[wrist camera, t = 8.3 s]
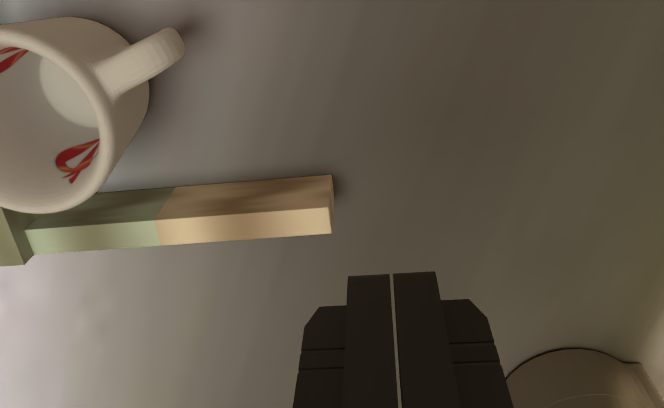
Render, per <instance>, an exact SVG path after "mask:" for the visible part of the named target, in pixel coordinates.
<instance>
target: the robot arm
mask: <svg viewBox="0 0 664 408" xmlns="http://www.w3.org/2000/svg"><path fill="white" fill-rule="evenodd" d="M393 281H394V297H395V313H396V329H397V344H398V360H399V374H400V388H401V401H402V408H664V401H663V399H662V398H661V396H660V394H659V393H658V391H657V389H656V388H655V386H654V385H653V383H652V381H651V380H650V378H649V376H648V375H647V373H646V372H645V370H644V368H643V367H642V365H641V364H625V363H622V362H620V361H618V360H616V359H614V358H613V357H611V356H609V355H606V354H603V353H600V352H597V351H592V350H584V349H568V350H560V351H555V352H550V353H547V354H544V355H541V356H539V357H536V358H534V359H532V360H530V361H528V362H527V363H525V364H523V365H521V366H520V367H519V368H518V369H517V370H515V371H514V372H513V373H512V374H511V375H510V376H509V377H508V378H507V380H506V379H505V376H504V373H503V369H502V366H501V365H500V359H499V356H498V353H497V349H496V346H495V345H494V339H493V336H492V333H491V329H490V326H489V323H488V319H487V317H486V316H485V315H484V314H483V313H482V312H481V311H480V310H479V309H478V308H477V307H476V306H475V305H474V304H473V303H472V302H471V301H470V300H469V299H461V300H441V299H440V294H439V289H438V284H437V278H436V274H435V271H434V272H415V273H397V274H393ZM293 408H398V397H397V382H396V367H395V352H394V337H393V321H392V306H391V291H390V276H389V274H382V275H364V276H348V286H347V305H345V306H325V307H319V308H318V309H317V311H316V312H315V313H314V315H313V316H312V317H311V319H310V320H309V321H308V323H307V324H306V326H305V328H304V334H303V341H302V348H301V355H300V362H299V374H298V375H297V382H296V389H295V396H294V403H293Z"/></svg>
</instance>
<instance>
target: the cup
mask: <svg viewBox="0 0 664 408" xmlns="http://www.w3.org/2000/svg"><path fill="white" fill-rule="evenodd" d="M184 53H185V45H184V43H183V41H182V39H181V37H180V35H179V34H178V32H177V31H176V30H175V29H173V28H171V27H167V28H164V29H163V30H161V31H159V32H157V33H155V34H153V35H151V36H149V37H147V38H145V39H143V40H141V41H139V42H137V43H134V44H132V45H130V44H129V43H128V42H127V41H126V40H125V39H124V38H123V37H122V36H120V35H119V34H118V33H116V32H115V31H113V30H112V29H110V28H108V27H106V26H105V25H102V24H100V23H98V22H95V21H92V20H88V19H83V18H76V17H59V18H49V19H42V20H34V21H27V22H19V23H12V24H4V25H0V206H1V207H3V208H6V209H10V210H14V211H18V212H23V213H32V214H47V213H55V212H60V211H64V210H68V209H70V208H73V207H75V206H77V205H79V204H81V203H83V202H84V201H86V200H87V199H89V198H90V197H91V196H93V195H94V194H95V193H96V192H97V191H98V190H99V189H100V187H101V186H102V185H103V184H104V182H105V181H106V179H107V178H108V176H109V175H110V173H111V171H112V170H113V168H114V167H115V165H116V164H117V162H118V160H119V159H120V157H121V156H122V154H123V153H124V151H125V149H126V148H127V146H128V145H129V143H130V141H131V140H132V138H133V137H134V135H135V134H136V132H137V130H138V129H139V127H140V125H141V123H142V122H143V120H144V117H145V115H146V112H147V108H148V103H149V82H148V80H149V79H151V78H152V77H154V76H156V75H158V74H159V73H161V72H162V71H164V70H165V69H167V68H169V67H170V66H172V65H173V64H174V63H176V62H177V61H178V60H179V59H180V58H181V57H182V56H183V55H184Z"/></svg>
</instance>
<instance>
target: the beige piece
mask: <svg viewBox="0 0 664 408" xmlns="http://www.w3.org/2000/svg"><path fill="white" fill-rule="evenodd" d="M333 209H334V191H333V182H332V175H320V176H308V177H295V178H283V179H270V180H258V181H245V182H233V183H220V184H207V185H195V186H182V187H170V188H157V189H145V190H132V191H120V192H107V193H95V194H94V195H93V196H91V197H90V198H89V199H87V200H86V201H84V202H83V203H81V204H79V205H77V206H75V207H73V208H70V209H68V210H64V211H60V212H55V213H47V214H32V213H23V212H18V211H14V210H10V209H6V208H3V207H1V206H0V266H13V265H25V264H26V263H27V261H28V260H29V259H30V258H31V257H32V256H33V255H34V254H48V253H62V252H76V251H90V250H104V249H118V248H132V247H146V246H160V245H175V244H189V243H203V242H217V241H231V240H245V239H259V238H273V237H287V236H301V235H315V234H329V233H331V232H332V220H333Z"/></svg>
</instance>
